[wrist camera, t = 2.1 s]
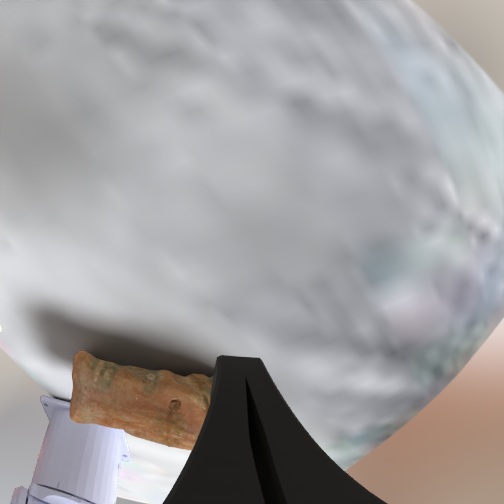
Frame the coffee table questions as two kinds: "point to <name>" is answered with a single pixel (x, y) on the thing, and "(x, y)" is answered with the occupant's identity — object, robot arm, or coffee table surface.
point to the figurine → (140, 400)
